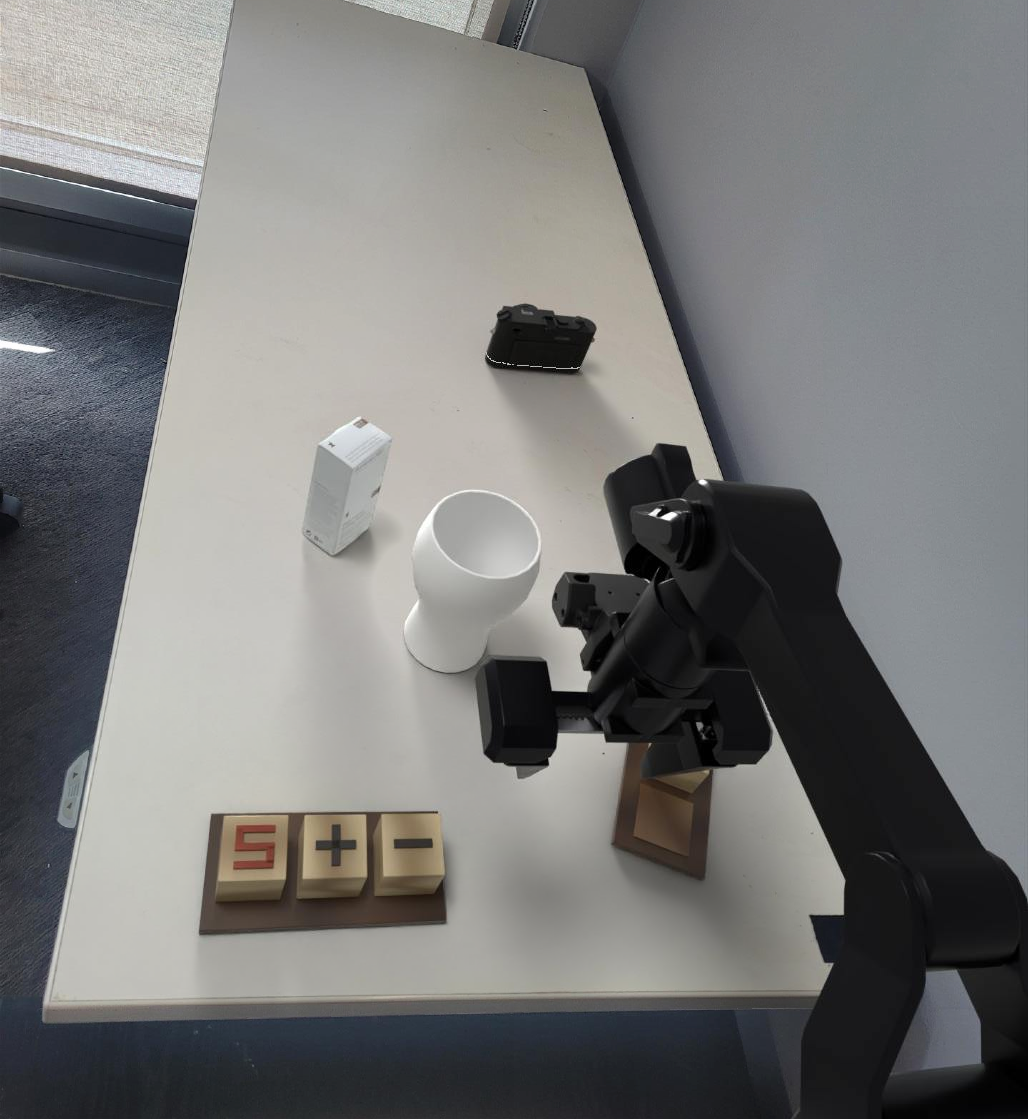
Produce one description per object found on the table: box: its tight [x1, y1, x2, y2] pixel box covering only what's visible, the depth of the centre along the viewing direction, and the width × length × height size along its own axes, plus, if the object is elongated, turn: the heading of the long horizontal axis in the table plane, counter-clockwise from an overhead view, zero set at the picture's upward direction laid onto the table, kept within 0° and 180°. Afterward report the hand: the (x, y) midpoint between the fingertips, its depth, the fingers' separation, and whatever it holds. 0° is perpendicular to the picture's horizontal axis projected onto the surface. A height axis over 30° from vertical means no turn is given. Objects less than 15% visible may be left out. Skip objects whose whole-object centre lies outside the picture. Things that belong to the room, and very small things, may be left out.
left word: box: [198, 810, 447, 935], centre depth 65 cm, size 17×8×4 cm, turn 97°
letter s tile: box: [214, 815, 289, 902], centre depth 63 cm, size 4×4×4 cm
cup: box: [403, 489, 543, 674], centre depth 79 cm, size 11×11×15 cm
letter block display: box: [610, 743, 714, 881], centre depth 84 cm, size 30×8×4 cm, turn 165°
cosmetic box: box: [301, 416, 393, 557], centre depth 85 cm, size 6×4×12 cm
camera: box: [484, 302, 598, 375], centre depth 117 cm, size 14×7×8 cm, turn 103°
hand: (582, 771), depth 63 cm, fingers open, 9 cm apart
